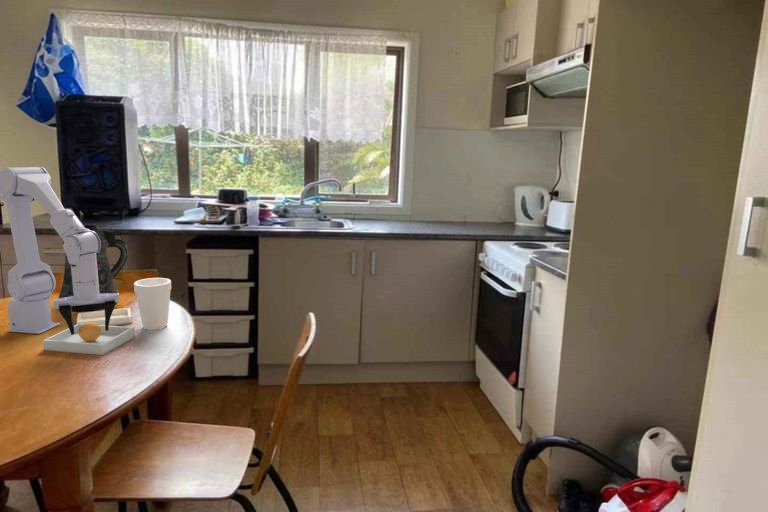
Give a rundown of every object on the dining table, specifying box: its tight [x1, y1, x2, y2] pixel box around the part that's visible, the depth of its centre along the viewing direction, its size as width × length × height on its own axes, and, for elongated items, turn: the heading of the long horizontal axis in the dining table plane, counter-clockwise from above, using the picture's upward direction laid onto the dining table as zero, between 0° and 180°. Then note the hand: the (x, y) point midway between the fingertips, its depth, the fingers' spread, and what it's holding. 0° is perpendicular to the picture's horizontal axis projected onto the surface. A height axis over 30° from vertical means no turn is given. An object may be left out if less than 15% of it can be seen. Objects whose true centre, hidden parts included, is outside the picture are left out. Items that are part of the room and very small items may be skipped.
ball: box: [79, 322, 101, 342], centre depth 137 cm, size 5×5×5 cm
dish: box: [76, 307, 133, 326], centre depth 154 cm, size 14×9×2 cm
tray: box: [42, 323, 135, 356], centre depth 137 cm, size 16×13×3 cm
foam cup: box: [133, 277, 172, 331], centre depth 150 cm, size 10×9×13 cm
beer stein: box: [58, 224, 129, 313], centre depth 167 cm, size 16×19×25 cm
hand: (90, 331), depth 137 cm, fingers open, 7 cm apart
